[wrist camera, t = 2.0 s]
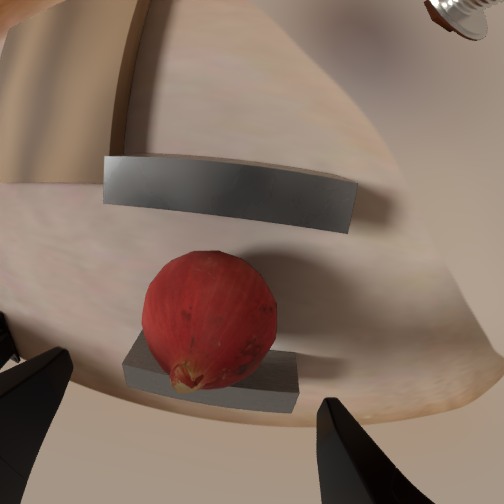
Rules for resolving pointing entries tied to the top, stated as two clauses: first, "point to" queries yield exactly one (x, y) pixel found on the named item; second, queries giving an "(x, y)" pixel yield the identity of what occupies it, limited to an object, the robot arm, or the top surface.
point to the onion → (208, 320)
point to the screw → (461, 16)
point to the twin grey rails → (238, 206)
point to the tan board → (67, 90)
